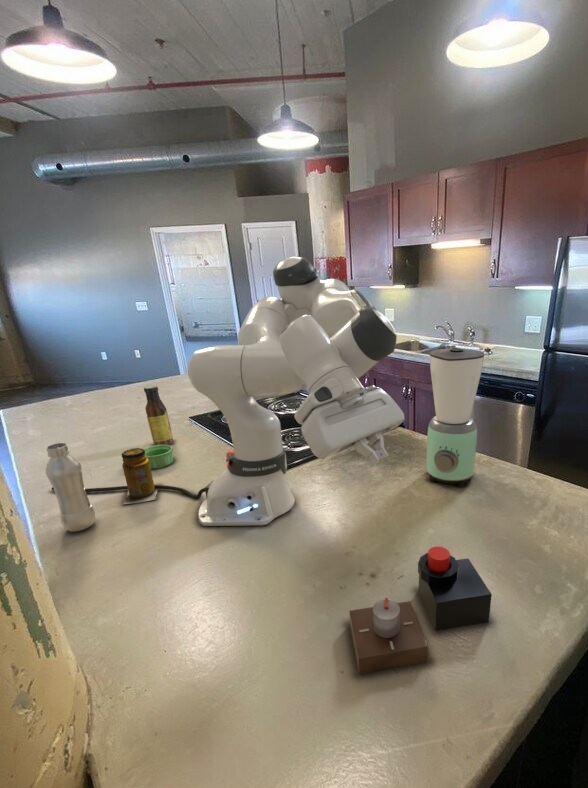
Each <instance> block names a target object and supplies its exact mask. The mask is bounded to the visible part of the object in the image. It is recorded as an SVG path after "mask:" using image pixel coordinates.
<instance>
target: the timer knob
mask: <svg viewBox="0 0 588 788" xmlns="http://www.w3.org/2000/svg"><path fill="white" fill-rule="evenodd" d="M397 603H398V602H396V601H394V600H392V599H389V597H384V599H380V600H377V602H375V603H374V605H373V606H372V607H373V629H374V632H375V633H376V634H377V635H378V636H380V637H383V638H391V637H393V636H395V635H396V634H397V633H398V632H399V630H400V607H399V605H398V604H397Z"/></svg>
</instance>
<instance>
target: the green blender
mask: <svg viewBox="0 0 588 788" xmlns="http://www.w3.org/2000/svg"><path fill="white" fill-rule="evenodd" d="M428 354H429V368H430V369H429V370H430V378H431V387H432V395H433V396H432V397H433V404H434V412H435V416H433V417H432V418H431V419H430V421H429V423H428V427H427V437H426V461H425V471H426V474H427V476H428V478H429V479H428V480H429V482H433V483H434V482H440V483H444V484H451V485H452V484H456V485H457V487H465V484H466V483H465V482H468V481H469V480H471V479H472V478H473V477H474V476H475V469H476V453H477V442H478V441H477V440H478V426H477V423H476V422H475V420H474V419H473V418H472V413H473V409H474V406H475V405H474V404H475V401H476V397H477V393H478V387H479V384H480V379H481V376H482V371H483V367H484V366H483V365H484V359H485V355H486V353H485V352H484V351H481V350H477V349H470V348H461V347H453V348H439V349H434V350H431V351H429V353H428Z"/></svg>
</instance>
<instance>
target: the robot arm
mask: <svg viewBox="0 0 588 788" xmlns="http://www.w3.org/2000/svg"><path fill="white" fill-rule="evenodd" d="M319 272H320V270H319V268H318V267H314V265H313V264H312V263H311V262H310V261H309V260H308V259H306V258H304V257H302V256H290V257H287V258H285V259H283V260H281V261H280V262H279V263H277V264H276V265H275V266H274V269H273V270H272V276H273V280H274V284H275V286H276V287H277V290H278V293H279V297H280V298H278V297H275V296H265V297H262V298H261V299H259V300H258V301H257V302H256V303H255V304H254V305H253V306H252V307H251V308H250V309H249V311H248V313H247V315H246V316H245V318H244V320H243V322H242V324H241V326H240V328H239V329H238V333H237V343H238V344H235V345H234V344H231V345H229V344H228V345H225V344H224V345H223V344H221V345H212V346H209V347H208V346H207V347H204V348H200V349H197V350H195V351H194V352H193V353H192V355H191V357H190V358H189V361H188V363H187V376H188V379H189V381H190V383H191V385H192V386H193V388H194V389H195V391H197V392H198V393H199V394H201V395H203V396H205V397H206V398H207V399H209V400H210V401H211V402H212V403H213V404H214V405H215V406H216V407H217V408H218V409H219V410H220V412H221V414H222V415H223V417H224V418H225V421H226V422H227V425H228V428H229V433H230V437H231V440H232V441H231V442H232V447H233V448H232V449H231V448H230V449H228V450H227V452H226V455H225V457H226V460H225V462H226V463H225V464H226V468H227V469H226V470H225V471H223V472H222V473H221V474H220V475H218V476H217V477H215V478H214V479H213V480H211V481H210V482H209V483H208V484H207V485H206V486H204V487H203V488H201V489H199V491H198V493H197V494H194V493H192V492H190V491H188V490H186V489H184V488H182V487H177V486H173V485H163V484H154V486H155V488H154V489H158V490H169V491H175V492H180V493H183V494H184V495H185V496H187V497H190V498H192V499H196V500H197V499H200V498H201V497H202V495H203V493H205V499H204V500H203V501H202V503H201V504H200V506H199V509H198V516H197V517H198V522H199V524H200V525H202V526H204V527H225V526H228V527H229V526H231V527H232V526H233V527H234V526H236V527H237V526H238V527H239V526H266V525H268V524H270V523H271V522H272V521H273V520H274V519H275V518H278V517H281V516H282V515H285V514H286V513H287V512H288V511H290V510H291V509H292V508H293V507H294V505H295V502H296V500H295V499H296V498H295V497H294V495H293V492H292V489H291V487H290V484H289V479H288V474H287V470H288V463H287V454H286V450H285V448H284V446H283V435H282V427H281V426H282V425H281V421H280V419H279V418H278V416H277V414H275V413H274V412H273V411H272V410H270V409H268V408H266V407H264V406H262V405H260V404H259V403H258V402H257V401H256V400H255V398H254V397H268V396H269V397H270V396H271V397H272V396H274V397H275V396H284V395H289V394H293V393H299V392H300V391H301V390H302V389H303V388H304V387H305V388H306V393H307V394H308V396H307V397H306V398H305V399H304V400H303V401H302V403H301V404H300V405H299V407H298V409H297V410H296V411H295V414H293V415H294V419H295V420H296V422H297V424H299V425H301V427H300V430H301V434H302V436H303V438H304V440H305V442H306V444H307V446H308V448H309V449H310V451H311V453H312V454H313V456H315V457H316V458H318V459H319V460H326V459H328V458H330V457H333V456H334V455H337V454H340V453H341V452H345V451H346V450H348V449H350V448H353V447H354V449H355V451H356V452H357V453H359V454H360V455H362V456H363V457H364V458H367V459H368V461H369V462H370V464H371V465H372V466H376V465H378V464H379V463H381V462H383V461H386V460H387V459H388V458H389V457H390V456H389V453H388V451H387V450H386V448H385V441H384V436H383V434H385V433H388V432H390V431H392V430H394V429H396V428H397V427H399V426H400V425H401V424H402V423H403V422H404V421H405V413H404V412H403V410H402V409H401V407H400V406H399V404H397V403H396V401H395V400H394V399H393V398H392V396H391V395H389V393H387V392H386V391H385V390H384V389H382V387H378V386H376V385H375V384H373V385H368V386H366V387H364V386H363V384H362V383H361V381H360V380H359V379H360V378H361V377H363V376H364V375H365V374H366V373H368V372H369V371H370V370H371V369H372V368H373V367H375V366H376V365H377V364H378V363H379V362H381V361H383V360H384V359H386V358H387V357H389V356H390V355H391V354H392V353H394V352H395V349H396V345H397V339H398V338H397V337H398V336H397V335H398V333H396V329H395V328H394V326H393V324H392V323H391V320H389V319H388V318H387V316H385V315H384V314H383V313H381V312H380V311H379V310H377V309H376V308H375V306H374V305H373V304H372V303H371V301H369V299H368V298H367V297H366V296H365V295H364V294H363V293H361V292H360V291H359V290H357V289H351V290H350V287H349V286H347V284H346V283H344V282H343V281H342V280H340V279H338V278H328V279H321V278H320V275H319ZM368 444H370V445H372V446H374V449H373V448H372V447H370V445H368ZM51 490H52V491H54V489H53V487H51ZM121 490H123V491H124V490H128V487H127V485H121V486H120V485H119V486H108V487H91V488H85V492H86V493H97V492H112V491H121Z"/></svg>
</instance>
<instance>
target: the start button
mask: <svg viewBox="0 0 588 788" xmlns="http://www.w3.org/2000/svg"><path fill="white" fill-rule="evenodd" d="M427 553H428V564H427V565H428V568H429V569H430V570H432V571H434V572H439V573H440V572H446V571H447V570H448V569H449V564H450V555H451V552H450V551H449V550H448V549H447V548H446V547H443V546H433V547H430V548H429V549H428V550H427Z"/></svg>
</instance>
